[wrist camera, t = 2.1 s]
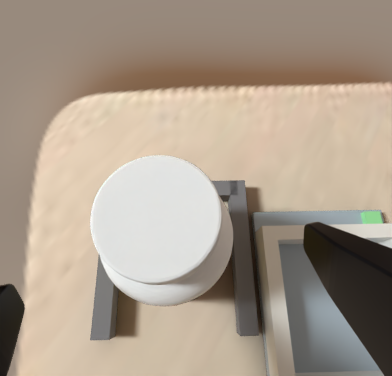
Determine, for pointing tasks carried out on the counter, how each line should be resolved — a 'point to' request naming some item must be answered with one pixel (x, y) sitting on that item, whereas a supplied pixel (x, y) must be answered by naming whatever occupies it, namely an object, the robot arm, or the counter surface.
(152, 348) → the counter surface
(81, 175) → the counter surface
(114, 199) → the supplement bottle
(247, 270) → the holster cradle
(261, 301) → the panel
